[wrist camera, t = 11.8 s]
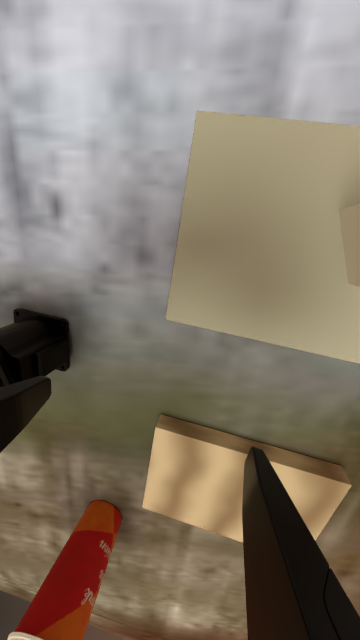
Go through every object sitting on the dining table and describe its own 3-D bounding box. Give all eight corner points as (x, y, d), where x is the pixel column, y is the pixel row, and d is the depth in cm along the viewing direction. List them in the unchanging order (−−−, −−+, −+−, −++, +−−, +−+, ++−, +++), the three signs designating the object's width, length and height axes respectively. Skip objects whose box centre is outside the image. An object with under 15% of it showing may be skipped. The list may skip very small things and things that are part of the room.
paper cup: (118, 535, 35) (55, 704, 22) (77, 512, 35) (-9, 666, 22) (136, 512, 32) (76, 691, 19) (91, 486, 33) (2, 647, 20)
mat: (166, 317, 21) (165, 319, 21) (197, 115, 16) (196, 110, 15) (412, 373, 19) (418, 376, 18) (554, 150, 13) (568, 146, 13)
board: (147, 491, 30) (142, 507, 29) (160, 414, 26) (155, 427, 24) (295, 541, 28) (300, 562, 26) (341, 465, 23) (351, 485, 21)
